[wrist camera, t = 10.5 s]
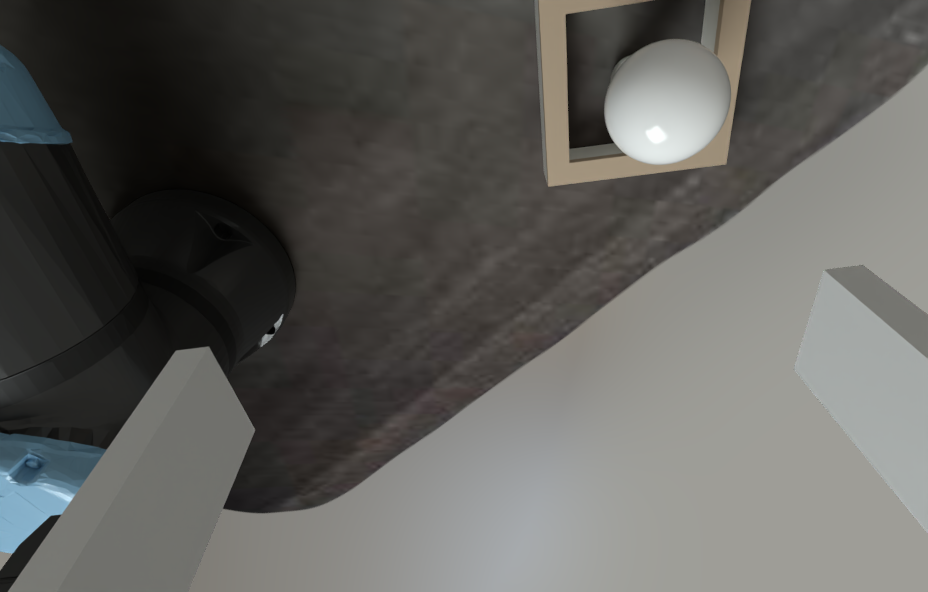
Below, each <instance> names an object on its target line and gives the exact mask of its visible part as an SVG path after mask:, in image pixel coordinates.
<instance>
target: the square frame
mask: <svg viewBox="0 0 928 592" xmlns="http://www.w3.org/2000/svg"><path fill="white" fill-rule="evenodd" d="M646 1H653V0H534V3H535V21H536V39H537V57H538V75H539V93H540V111H541V129H542V147H543V165H544V174H545V177H546V181H547V184H548V187H549V186H557V185H565V184H573V183H581V182H589V181H597V180H605V179H613V178H621V177H629V176H637V175H644V174H652V173H660V172H668V171H676V170H684V169H692V168H700V167H708V166H716V165H724V164H726V161H727V155H728V148H729V142H730V135H731V129H732V122H733V116H734V109H735V103H736V96H737V90H738V83H739V77H740V70H741V63H742V57H743V50H744V44H745V37H746V31H747V24H748V18H749V11H750V5H751V0H706V2H705V11H704V20H703V29H702V38H701V44H702V45H704V46H705V47H707V48H708V49H710V50H711V51H712V52H713V53H714V54H716V55H717V57H718V58H719V59H720V60H721V62H722V63H723V65H724V67H725V69H726V71H727V73H728V76H729V80H730V85H731V102H730V108H729V112H728V115H727V118H726V120H725V122H724V124H723V126H722V128H721V129H720V131H719V133H718V134H717V135H716V137H715V138H714V139H713V140H712V141H711V142H710V143H709V144H708V145H707V146H706V147H705V148H704V149H702V150H701V151H700V152H698V153H697V154H695V155H693V156H692V157H690V158H688V159H685V160H683V161H680V162H677V163H673V164H666V165H652V164H646V163H642V162H639V161H637V160H635V159H633V158H631V157H629V156H628V155H626V154H625V153H623V152H622V151H621V150H620V149H619V148H618V147H617V146H616V144H615V143H611V144H604V145H596V146H588V147H581V148H573V149H569V129H568V90H567V51H566V14H570V13H576V12H583V11H589V10H595V9H602V8H608V7H614V6H621V5H627V4H634V3H640V2H646Z"/></svg>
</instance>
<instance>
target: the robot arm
mask: <svg viewBox="0 0 928 592" xmlns="http://www.w3.org/2000/svg"><path fill="white" fill-rule="evenodd" d="M71 142H73V141H72V138H71V135H70V134H69V132H68V131H66V130H64V129H63V128H61V126H60V124H59V123H58V121H57V119H56V118H55V116H54V114H53V112H52V111H51V109H50V107H49V106H48V104H47V102H46V101H45V99H44V97H43V95H42V94H41V92H40V90H39V89H38V87H37V85H36V84H35V82H34V80H33V79H32V77H31V75H30V73H29V72H28V70H27V69H26V67H25V66H24V65H23V63H22V62H21V61H20V60H19V59H18V58H17V57H16V56H15V55H14V54H12V53H11V52H10V51H8V50H7V49H6V48H4V47H3V46H1V45H0V551H1V552H6V553H13V554H12V555H11V557H10V558H9V560H8V561H7V562H6V564H5V565H4V566H3V568H2V569H1V571H0V592H188V590H189V588H190V586H191V583H192V581H193V578H194V576H195V574H196V571H197V569H198V566H199V564H200V562H201V559H202V557H203V554H204V552H205V550H206V547H207V545H208V542H209V540H210V538H211V535H212V533H213V530H214V528H215V526H216V523H217V521H218V518H219V515H220V513H221V511H222V509H223V506H224V504H225V501H226V499H227V497H228V494H229V492H230V489H231V487H232V485H233V482H234V480H235V477H236V475H237V473H238V470H239V468H240V465H241V463H242V461H243V458H244V456H245V453H246V451H247V448H248V446H249V444H250V441H251V439H252V436H253V434H254V432H255V429H254V427H253V425H252V423H251V422H250V420H249V418H248V416H247V414H246V413H245V411H244V409H243V407H242V405H241V403H240V402H239V400H238V398H237V396H236V394H235V393H234V391H233V389H232V387H231V385H230V384H229V382H228V380H227V378H228V376H229V374H230V373H231V371H232V369H233V368H234V367H235V366H237V365H238V364H239V363H241V362H242V361H243V360H245V359H246V358H247V357H249V356H250V355H251V354H253V353H254V352H255V351H257V350H258V349H259V348H260V347H262V346H263V345H265V344H266V343H267V342H268V341H270V340H271V339H272V338H273V337H274V336H275V335H276V333H277V332H278V331H279V330H280V328H281V327H282V325H283V323H284V321H285V320H286V318H287V316H288V314H289V312H290V310H291V308H292V305H293V302H294V297H295V277H294V272H293V269H292V266H291V263H290V260H289V258H288V256H287V254H286V252H285V250H284V249H283V247H282V246H281V244H280V243H279V241H278V240H277V239H276V238H275V236H274V235H273V234H272V233H271V232H270V231H269V230H268V229H267V228H266V227H265V226H264V225H263V224H262V223H261V222H260V221H259V220H258V219H256V218H255V217H254V216H252V215H251V214H250V213H248V212H247V211H245V210H244V209H242V208H240V207H238V206H237V205H235V204H233V203H231V202H229V201H227V200H224V199H222V198H219V197H217V196H214V195H210V194H207V193H203V192H198V191H193V190H182V189H171V190H162V191H157V192H153V193H150V194H147V195H144V196H142V197H140V198H138V199H137V200H135V201H134V202H132V203H131V204H129V205H128V206H127V207H125V208H124V209H123V210H121V211H120V212H119V213H117V214H116V215H115V216H114V217H113V218H112V219H111V220H110V221H109V219H108V217H107V215H106V213H105V211H104V209H103V207H102V205H101V203H100V201H99V199H98V198H97V196H96V194H95V192H94V190H93V188H92V186H91V184H90V182H89V180H88V178H87V176H86V174H85V173H84V171H83V169H82V167H81V165H80V163H79V161H78V159H77V156H76V154H75V152H74V150H73V148H72V146H71V144H70V143H71ZM794 370H795V372H796V373H797V374H798V375H799V377H800V378H801V379H802V380H803V381H804V383H805V384H806V385H807V386H808V387H809V389H810V390H811V391H812V392H813V394H814V395H815V396H816V397H817V398H818V400H819V401H820V402H821V403H822V405H823V406H824V407H825V408H826V410H827V411H828V412H829V413H830V414H831V416H832V417H833V418H834V419H835V421H836V422H837V423H838V424H839V425H840V427H841V428H842V429H843V430H844V432H845V433H846V434H847V435H848V437H849V438H850V439H851V440H852V441H853V443H854V444H855V445H856V446H857V447H858V449H859V450H860V451H861V452H862V454H863V455H864V456H865V457H866V459H867V460H868V461H869V462H870V463H871V465H872V466H873V467H874V468H875V470H876V471H877V472H878V473H879V475H880V476H881V477H882V478H883V479H884V481H885V482H886V483H887V484H888V485H889V487H890V488H891V489H892V490H893V492H894V493H895V494H896V495H897V496H898V498H899V499H900V500H901V501H902V503H903V504H904V505H905V506H906V507H907V509H908V510H909V511H910V512H911V514H912V515H913V516H914V517H915V519H916V520H917V521H918V522H919V523H920V525H921V526H922V527H923V528H924V529H925V531H926V532H927V533H928V314H926V313H925V312H924V311H922V310H921V309H920V308H918V307H917V306H916V305H915V304H913V303H912V302H911V301H909V300H908V299H907V298H905V297H904V296H903V295H901V294H900V293H899V292H897V291H896V290H895V289H893V288H892V287H891V286H890V285H888V284H887V283H886V282H884V281H883V280H882V279H880V278H879V277H878V276H877V275H875V274H874V273H873V272H871V271H870V270H869V269H867V268H866V267H865V266H863V265H859V266H851V267H843V268H836V269H827V270H824V271H823V274H822V278H821V281H820V284H819V287H818V291H817V294H816V297H815V301H814V304H813V307H812V311H811V314H810V317H809V320H808V323H807V327H806V330H805V334H804V337H803V340H802V343H801V347H800V350H799V353H798V356H797V360H796V363H795V366H794Z"/></svg>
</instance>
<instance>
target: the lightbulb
mask: <svg viewBox="0 0 928 592" xmlns="http://www.w3.org/2000/svg"><path fill="white" fill-rule="evenodd" d="M730 102H731V85H730V80H729V76H728V73H727V71H726V69H725V67H724V65H723V63H722V62H721V60H720V59H719V58H718V57H717V55H716V54H714V53H713V52H712V51H711V50H710V49H708V48H707V47H705V46H704V45H702V44H700V43H697V42H694V41H691V40H686V39H666V40H661V41H657V42H654V43H651V44H649V45H647V46H645V47H643V48H641V49H639V50H638V51H636V52H635V53H633V54H632V55H630V56H627V57H625V58H623V59H622V60H620V61H619V62H618V63H617V64H616V66H615V67H614V69H613V71H612V74H611V82H610V84H609V87H608V89H607V93H606V97H605V103H604V117H605V123H606V127H607V130H608V132H609V135H610V137H611V138H612V140H613V142H614V143H615V144H616V146H617V147H618V148H619V149H620V150H621V151H622V152H623V153H625V154H626V155H628V156H629V157H631V158H633V159H635V160H637V161H639V162H642V163H646V164H652V165H666V164H673V163H677V162H680V161H683V160H685V159H688V158H690V157H692V156H693V155H695V154H697V153H698V152H700V151H701V150H702V149H704V148H705V147H706V146H707V145H708V144H709V143H710V142H711V141H712V140H713V139H714V138H715V137H716V135H717V134H718V133H719V131H720V129H721V128H722V126H723V124H724V122H725V120H726V118H727V115H728V112H729V108H730Z"/></svg>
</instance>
